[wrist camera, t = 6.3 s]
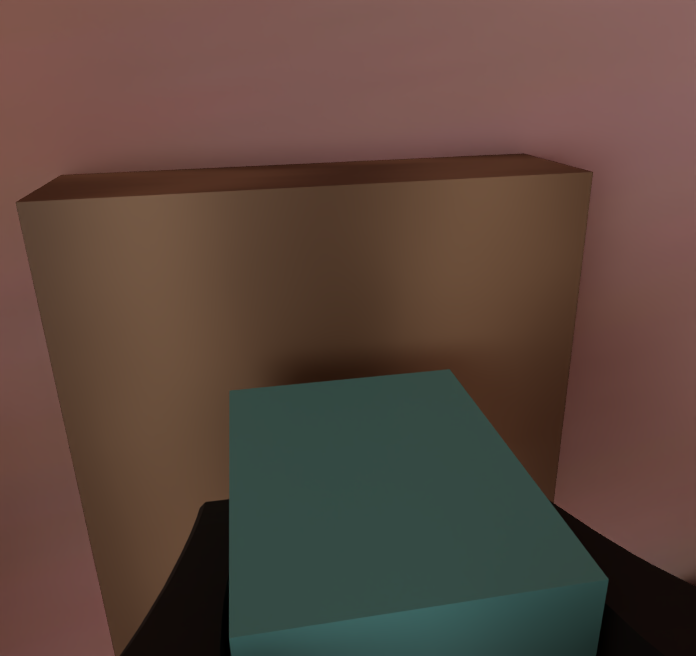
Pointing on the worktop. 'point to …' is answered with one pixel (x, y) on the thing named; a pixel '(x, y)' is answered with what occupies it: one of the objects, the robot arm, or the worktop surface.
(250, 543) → the teal block
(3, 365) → the worktop surface
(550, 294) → the walnut base
